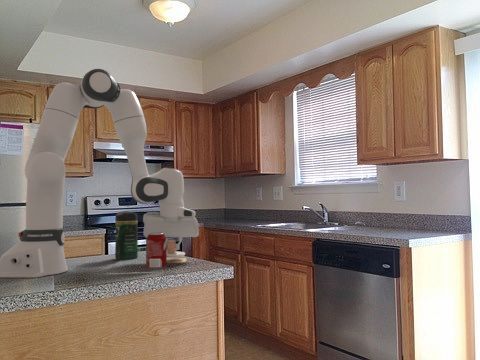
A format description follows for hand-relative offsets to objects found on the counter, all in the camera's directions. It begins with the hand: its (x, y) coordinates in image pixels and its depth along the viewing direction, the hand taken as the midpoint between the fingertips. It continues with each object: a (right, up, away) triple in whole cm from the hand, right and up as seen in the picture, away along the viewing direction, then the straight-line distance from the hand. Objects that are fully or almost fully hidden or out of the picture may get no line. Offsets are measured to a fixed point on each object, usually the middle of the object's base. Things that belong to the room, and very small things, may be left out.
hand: (171, 249), depth 157 cm
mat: (0, -5, 0) cm, 5 cm away
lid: (0, -2, 0) cm, 2 cm away
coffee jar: (-19, -5, +8) cm, 21 cm away
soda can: (-3, -5, -13) cm, 14 cm away
